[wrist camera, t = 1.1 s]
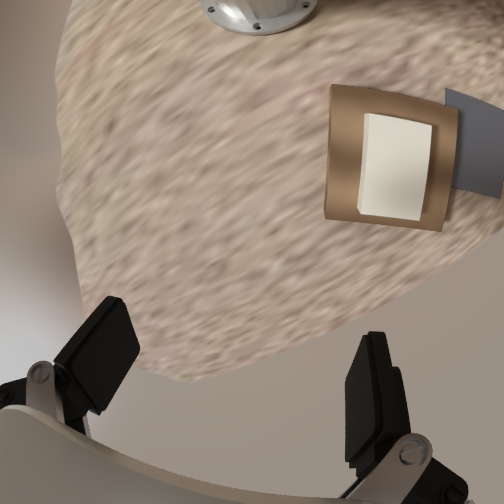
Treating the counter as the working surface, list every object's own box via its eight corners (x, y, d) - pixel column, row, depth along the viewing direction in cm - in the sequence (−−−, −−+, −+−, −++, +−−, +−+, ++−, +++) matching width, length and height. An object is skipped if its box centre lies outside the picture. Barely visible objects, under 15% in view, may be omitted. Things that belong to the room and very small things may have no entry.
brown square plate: (329, 87, 23) (332, 84, 21) (445, 109, 21) (457, 109, 18) (323, 209, 29) (325, 219, 27) (431, 221, 27) (441, 231, 24)
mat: (445, 88, 20) (446, 88, 20) (507, 112, 18) (509, 112, 18) (438, 184, 25) (439, 184, 25) (498, 198, 23) (500, 198, 23)
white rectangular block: (364, 113, 21) (369, 113, 20) (423, 124, 20) (431, 125, 19) (357, 207, 25) (360, 213, 24) (412, 214, 24) (419, 220, 23)
